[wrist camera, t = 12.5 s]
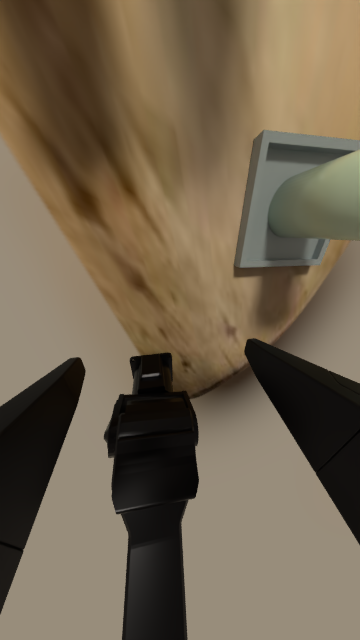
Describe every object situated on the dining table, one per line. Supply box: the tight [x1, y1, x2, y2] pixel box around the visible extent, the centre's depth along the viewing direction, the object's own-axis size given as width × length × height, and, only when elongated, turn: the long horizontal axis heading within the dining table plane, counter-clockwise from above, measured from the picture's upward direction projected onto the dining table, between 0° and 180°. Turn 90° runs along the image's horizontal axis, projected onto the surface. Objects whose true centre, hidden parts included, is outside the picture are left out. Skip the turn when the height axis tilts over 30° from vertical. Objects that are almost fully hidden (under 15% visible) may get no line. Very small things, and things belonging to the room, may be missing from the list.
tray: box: [234, 130, 360, 268], centre depth 18 cm, size 11×11×2 cm
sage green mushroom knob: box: [268, 150, 360, 241], centre depth 12 cm, size 7×7×12 cm
